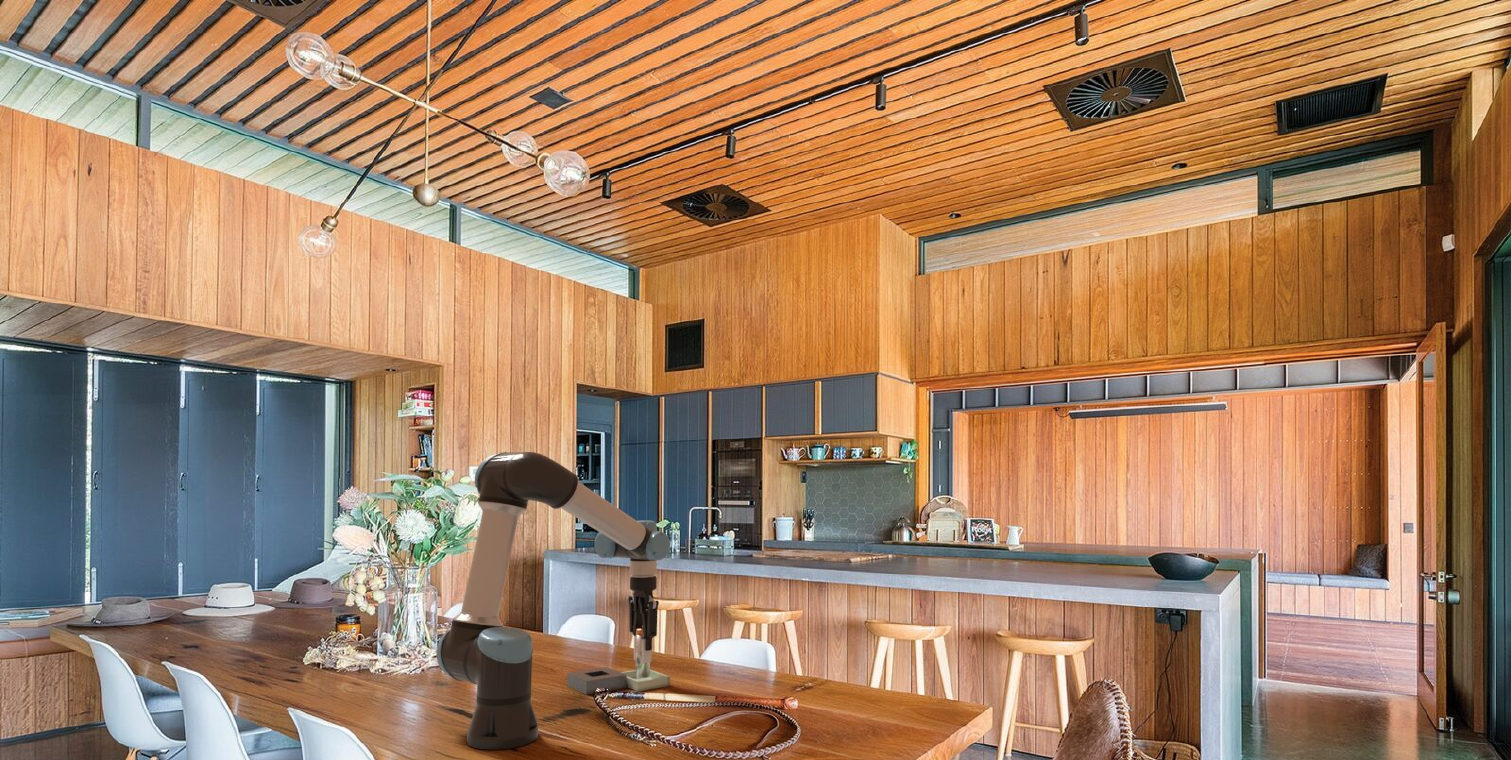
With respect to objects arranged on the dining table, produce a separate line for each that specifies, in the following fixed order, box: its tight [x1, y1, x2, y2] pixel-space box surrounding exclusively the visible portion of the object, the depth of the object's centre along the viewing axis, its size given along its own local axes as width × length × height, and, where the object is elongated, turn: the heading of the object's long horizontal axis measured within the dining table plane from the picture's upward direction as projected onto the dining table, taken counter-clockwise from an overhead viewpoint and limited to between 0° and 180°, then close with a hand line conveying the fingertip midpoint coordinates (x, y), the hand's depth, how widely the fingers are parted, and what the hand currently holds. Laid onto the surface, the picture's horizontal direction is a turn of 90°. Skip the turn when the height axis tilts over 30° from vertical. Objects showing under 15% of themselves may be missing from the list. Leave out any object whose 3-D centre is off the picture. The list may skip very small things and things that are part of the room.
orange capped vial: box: [635, 627, 651, 678], centre depth 237 cm, size 4×4×13 cm
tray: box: [621, 669, 671, 692], centre depth 236 cm, size 10×13×2 cm
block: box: [566, 666, 628, 695], centre depth 234 cm, size 12×12×4 cm
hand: (642, 660), depth 237 cm, fingers closed on orange capped vial, 4 cm apart
